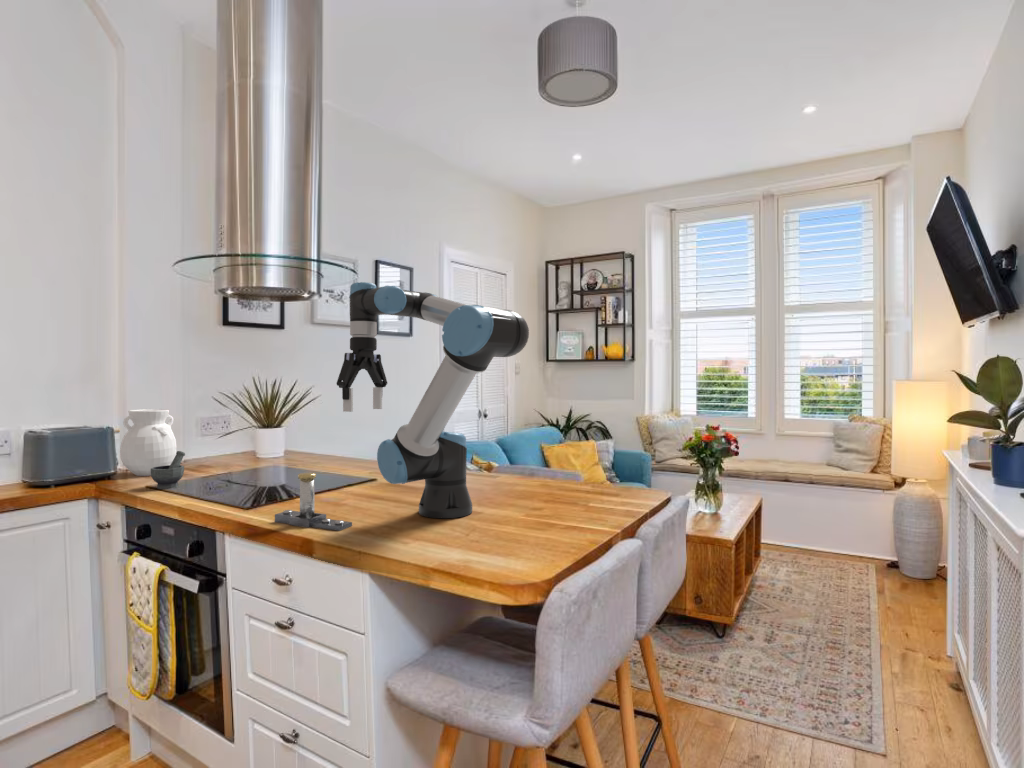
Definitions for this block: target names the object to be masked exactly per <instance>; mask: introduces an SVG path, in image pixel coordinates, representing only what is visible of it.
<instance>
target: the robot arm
mask: <svg viewBox="0 0 1024 768" xmlns="http://www.w3.org/2000/svg"><path fill="white" fill-rule="evenodd" d="M349 290H350V291H349V292H350V293H349V336H351V337H350V338H349V349H350V351H352V352H345V353H344V355H343V357H344V359H343V362H342V366H341V369H340V372H339V375H338V377H337V380H336V386H338V388H340V389H342V392H341V394H342V395H341V396H342V397H341V398H342V410H343V411H342V412H345V413H346V412H349V413H350V412H351V413H352V412H354V411H353V409H354V408H353V405H354V403H353V400H354V388H352V386H353V384H354V381H355V380H356V378H357V376H358V375H359V372H360V371H361V370H365V371H366V372H367V373H368V375H369V378H370V380H371V381H372V383H373V385H374V387H372V409H373V410H382V409H383V389H384V388H385V387H387V385H388V381H387V377H386V372H385V371H384V366H383V363H382V356H381V354H379V353H378V354H377V353H376V354H375V353H374V352H375V351H377V350H378V349H377V346H378V343H377V341H378V340H377V338H376V336H377V335H378V334H377V333H378V332H377V331H378V328H377V327H378V326H377V324H378V323H377V322H378V320H377V316H381V315H388V316H396V317H397V316H398V317H399V316H400V317H408V318H410V317H411V318H415V319H420V320H424V321H426V322H430V323H434V324H436V325H439V326H442V332H443V334H442V335H441V338H442V344H443V346H442V348H443V349H442V350H443V353H444V357H443V359H442V361H441V363H440V365H439V366H438V367H437V370H436V372H435V374H434V376H433V378H432V379H431V380H430V383H429V385H428V387H427V389H426V390H425V392H424V394H423V396H422V398H421V400H420V401H419V402H418V403H419V404H418V405H417V407H416V409H415V411H414V412H413V414H412V416H411V417H410V419H409V422H408V423H406V424H403V425H401V426H399V428H398V430H397V431H396V433H395V434H394V437H393V438H392V439H390V438H388V439H386V440H383V441H382V442H381V443H380V444H379V446H378V448H377V452H376V460H377V466H378V469H379V472H380V474H381V476H382V477H383V479H385V480H386V482H387V483H388V484H392V485H397V484H398V485H400V484H402V485H404V484H406V483H413V482H417V481H423V480H424V488H423V491H422V495H421V498H420V499H419V502H418V503H419V504H418V514H419V515H420V516H422V517H425V518H432V519H455V518H457V519H458V518H462V517H466V516H468V515H471V514H472V513H473V502H472V499H471V496H470V492H469V489H468V487H467V454H468V453H467V451H468V450H467V449H468V446H467V438H466V436H465V434H463V433H462V432H461V433H460V432H454V431H444V430H445V428H446V426H447V424H448V423H449V421H450V419H451V417H452V416H453V414H454V412H455V411H456V409H457V407H458V406H459V404H460V402H461V401H462V399H463V397H464V396H465V393H466V392H467V391H468V389H469V387H470V385H471V383H472V382H473V380H474V378H476V377H475V376H476V375H477V374H480V373H484V372H485V371H486V370H487V368H488V367H489V365H490V363H491V362H492V360H493V359H494V358H509V357H513V356H515V355H517V354H519V353H520V352H521V351H523V350H524V348H525V347H526V345H527V343H528V341H529V335H530V332H529V331H530V329H529V328H530V327H529V325H528V323H527V321H526V320H525V318H524V317H523V316H522V315H521V314H519V312H516V311H513V310H510V309H502V308H495V307H489V306H488V307H487V306H483V305H480V304H472V305H470V304H464V303H461V302H458V301H454V300H451V299H448V298H443V297H441V296H438V295H436V294H432V293H430V292H421V291H414V290H407V289H402V288H400V287H399V286H397V285H385V286H380V287H377V285H376V284H375V283H373V282H365V281H364V282H363V281H361V282H352V284H351V285H350V286H349Z"/></svg>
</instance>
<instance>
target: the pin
mask: <svg viewBox="0 0 1024 768" xmlns="http://www.w3.org/2000/svg"><path fill="white" fill-rule="evenodd" d="M315 478H317V473H316V472H312V471H311V472H309V471H308V472H301V473H298V474H297V479H298V480H299V512H300V518H306V519H310V518H313V517H314V513H315Z"/></svg>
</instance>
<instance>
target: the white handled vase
mask: <svg viewBox="0 0 1024 768" xmlns="http://www.w3.org/2000/svg"><path fill="white" fill-rule="evenodd" d="M169 413H170V409H167V408H145V409H143V408H141V409H130V410H128V416H126V417H125V418H124V419H123V421H122V423H123V426H124V427H125V429H126V430H127V431H126V433H125V435H124V436H123V438H122V441H121V442H120V443H121V444H120V449H119V453H120V460H121V462H122V465H123V466H125V468H126V469H127V470H128V471H130V472H131V473H132V474H134V475H135V476H136V477H151V468H153V467H158V466H167V465H171V463H172V461H173V459H174V458H175V456H176V452H177V439H176V437H175V433H174V432H173V429H172V426H173V424H174V420H175V419H174V416H172V415H171V414H169ZM167 419H168V422H167V423H166V420H167ZM129 420H130V421H132V423H133V425H132V426H131V425H130V424H129Z"/></svg>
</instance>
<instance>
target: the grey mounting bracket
mask: <svg viewBox="0 0 1024 768" xmlns="http://www.w3.org/2000/svg"><path fill="white" fill-rule="evenodd" d="M274 523H281V524H286V525H289V526H295V527H300V528H315V529H322V530H329V531H330V530H331V531H337V532H340V531H342V530H343V531H344V530H346V529H348V528H350V527H352V526H353V521H346V520H343V519H341V520H340V519H331V518H327V514H326V513H319V512H314V517H313V518H310V519H306V518H300V511H299V510H298V511H297V510H292V509H287V510H286V509H285V510H283V511H281V512H279V513H275V514H274Z"/></svg>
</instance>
